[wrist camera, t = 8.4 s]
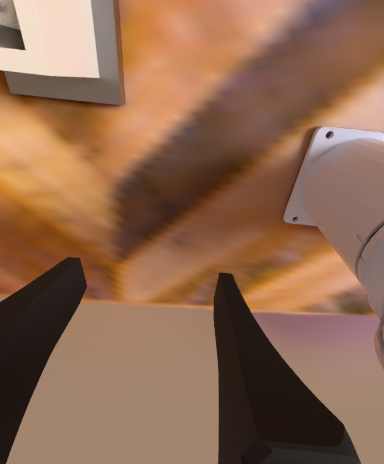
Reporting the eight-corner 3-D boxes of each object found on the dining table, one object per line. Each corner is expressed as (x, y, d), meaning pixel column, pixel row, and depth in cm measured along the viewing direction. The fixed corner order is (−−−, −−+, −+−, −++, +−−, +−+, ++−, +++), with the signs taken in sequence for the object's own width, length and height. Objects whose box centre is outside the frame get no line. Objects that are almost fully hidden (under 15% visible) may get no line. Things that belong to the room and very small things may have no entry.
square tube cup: (86, -39, 12) (1, -126, 7) (99, 77, 14) (45, 75, 10) (-11, -51, 12) (-166, -146, 7) (21, 68, 14) (-72, 61, 9)
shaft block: (113, -74, 12) (52, -176, 7) (125, 104, 16) (93, 112, 11) (-32, -90, 11) (-189, -204, 7) (20, 92, 16) (-54, 96, 11)
